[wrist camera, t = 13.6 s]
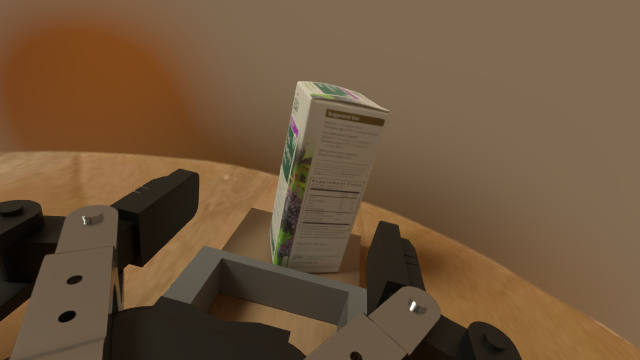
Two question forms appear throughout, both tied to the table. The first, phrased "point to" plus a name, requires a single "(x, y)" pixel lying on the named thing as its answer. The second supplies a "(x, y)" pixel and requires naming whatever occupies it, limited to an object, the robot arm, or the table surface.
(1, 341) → the table surface
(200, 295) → the gray open storage bin
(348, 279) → the walnut pad
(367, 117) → the syrup box
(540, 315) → the table surface
